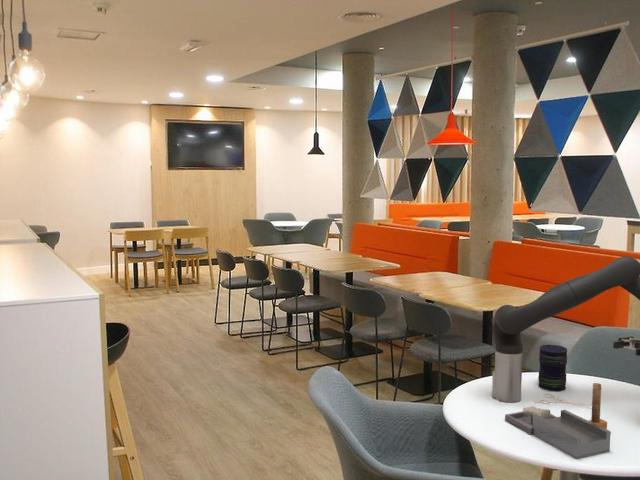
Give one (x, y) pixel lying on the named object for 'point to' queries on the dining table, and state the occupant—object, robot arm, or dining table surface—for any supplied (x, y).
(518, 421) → the tray
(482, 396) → the dining table surface
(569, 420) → the slot board
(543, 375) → the storage jar
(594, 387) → the wooden post on base
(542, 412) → the chip
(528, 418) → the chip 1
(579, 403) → the scissors
